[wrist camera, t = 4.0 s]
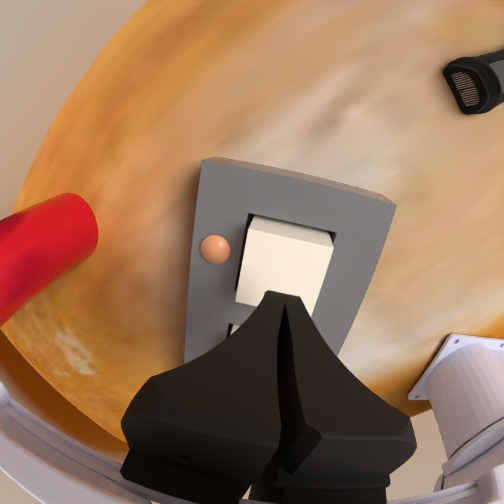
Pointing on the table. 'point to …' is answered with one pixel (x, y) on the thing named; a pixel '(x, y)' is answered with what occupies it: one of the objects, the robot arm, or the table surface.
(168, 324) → the table surface
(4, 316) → the bottle
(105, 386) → the table surface
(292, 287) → the key
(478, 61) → the electric trimmer
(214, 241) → the key panel
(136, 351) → the table surface
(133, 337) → the table surface
